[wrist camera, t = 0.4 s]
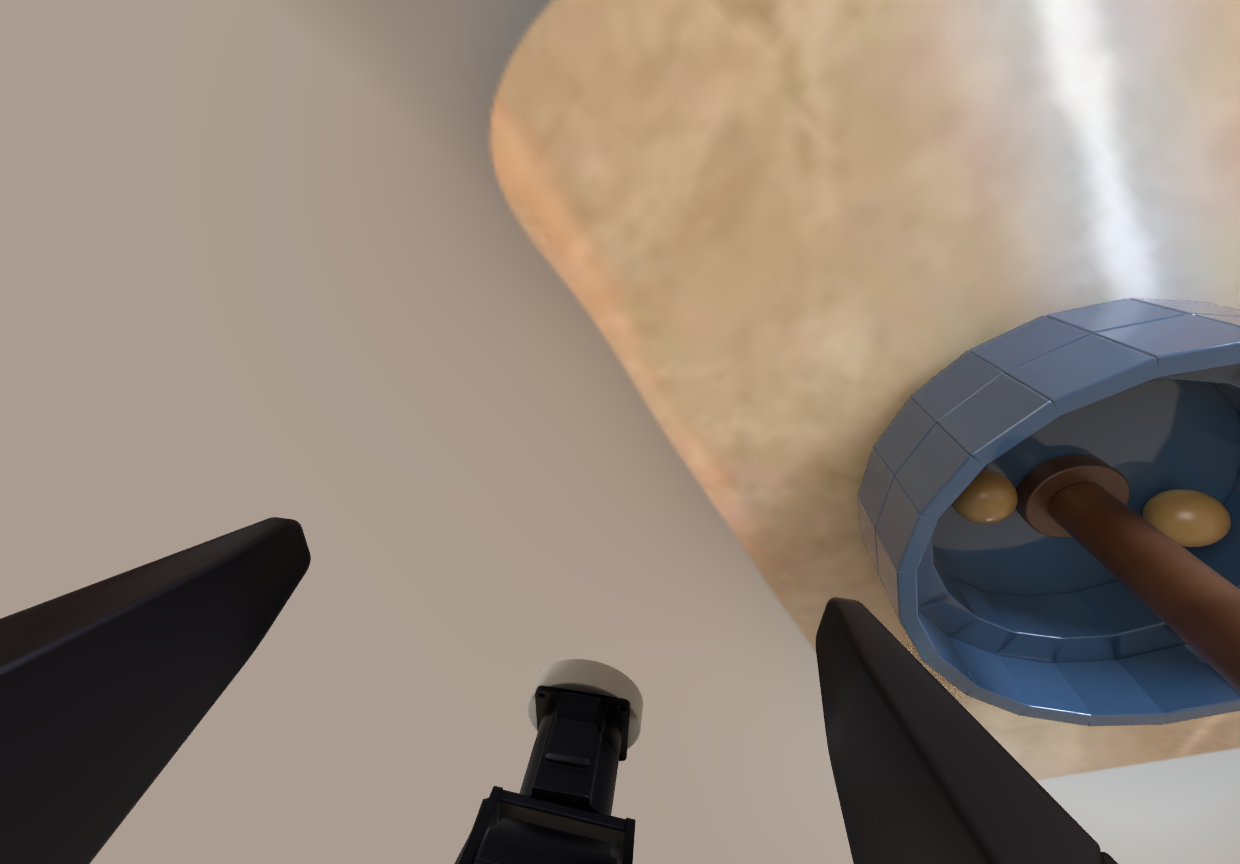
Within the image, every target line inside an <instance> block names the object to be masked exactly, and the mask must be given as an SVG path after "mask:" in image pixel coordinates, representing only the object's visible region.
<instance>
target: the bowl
mask: <svg viewBox="0 0 1240 864" xmlns="http://www.w3.org/2000/svg"><path fill="white" fill-rule="evenodd" d="M1069 455H1084V456H1091V457H1095V458H1098V459H1100V460H1102V461H1104V462H1105V463H1107V464H1108V465H1110V466H1111V467H1113V468H1114V469H1116V470H1117V471H1119V472H1120V473H1121V474H1122V475H1123V476H1124V477H1125V478H1126V480H1127V482H1128V484H1129V487H1130V497H1129V501H1128V504H1127V506H1128V507H1129V508H1131V509H1132V510H1134V511H1135V512H1136V513H1138V514H1139V515H1140V516H1142V517H1143V508H1144V506H1145V504H1146V503H1147V501H1148V500H1149V499H1150V498H1152V497H1153V496H1155V495H1156V494H1158V493H1161V492H1164V491H1167V490H1173V489H1188V490H1195V491H1199V492H1202V493H1205V494H1207V495H1210V496H1212V497H1213V498H1215V499H1216V500H1218V501H1219V502H1220V503H1221V504H1223V505H1224V507H1225V508H1226V509H1227V511H1228V513H1229V515H1230V519H1231V525H1230V529H1229V531H1228V533H1227V534H1226V535H1225V536H1224V537H1223V538H1222V539H1221V540H1219V541H1217V542H1215V543H1213V544H1210V545H1207V546H1202V547H1183V546H1182V547H1183V548H1185V549H1186V550H1187V551H1189V552H1190V553H1191V554H1193V555H1194V556H1196V557H1197V558H1198V559H1200V560H1201V561H1202V562H1204V563H1205V564H1206V565H1208V566H1209V567H1210V568H1212V569H1213V570H1214V571H1216V572H1217V573H1218V574H1220V575H1221V576H1222V577H1224V578H1225V579H1227V580H1228V581H1229V582H1231V583H1232V584H1233V585H1235V586H1236V587H1237V588H1239V589H1240V309H1235V308H1231V307H1226V306H1222V305H1217V304H1213V303H1208V302H1191V301H1175V300H1158V299H1142V298H1130V299H1122V300H1117V301H1112V302H1107V303H1102V304H1097V305H1093V306H1088V307H1083V308H1078V309H1073V310H1068V311H1063V312H1059V313H1054V314H1049V315H1046V316H1041V317H1038V318H1036V319H1034V320H1032V321H1030V322H1028V323H1026V324H1023V325H1021V326H1019V327H1017V328H1015V329H1013V330H1011V331H1008V332H1006V333H1004V334H1002V335H1000V336H998V337H995V338H993V339H991V340H989V341H987V342H985V343H983V344H980V345H978V346H976V347H974V348H972V349H970V350H969V351H966V352H965V353H964V354H962V355H961V356H960V357H959V358H957V359H956V360H955V361H954V362H952V363H951V364H950V365H949V366H947V367H946V368H945V369H944V370H942V371H941V372H940V373H939V374H937V375H936V376H935V377H933V378H932V379H931V380H930V381H928V382H927V383H926V384H925V385H923V386H922V387H921V388H920V389H918V390H917V391H916V392H915V393H913V394H912V395H911V397H910V398H909V399H908V400H907V401H906V403H905V404H904V406H903V407H902V408H901V410H900V411H899V412H898V414H897V415H896V416H895V418H894V419H893V421H892V422H891V423H890V425H889V426H888V427H887V429H886V430H885V431H884V433H883V434H882V435H881V437H880V438H879V440H878V441H877V442H876V444H875V446H874V447H873V449H872V452H871V455H870V458H869V461H868V465H867V468H866V471H865V474H864V477H863V480H862V483H861V487H860V490H859V493H858V503H859V514H860V525H861V536H862V540H863V543H864V545H865V547H866V549H867V552H868V554H869V556H870V558H871V560H872V562H873V564H874V567H875V569H876V571H877V573H878V575H879V577H880V580H881V582H882V584H883V586H884V588H885V590H886V593H887V595H888V597H889V599H890V601H891V603H892V606H893V608H894V610H895V612H896V614H897V616H898V619H899V621H900V622H901V624H902V626H903V628H904V630H905V631H906V633H907V635H908V637H909V638H910V640H911V642H912V644H913V645H914V647H915V649H916V651H917V652H918V654H919V656H920V658H921V659H922V660H923V661H924V663H925V664H927V665H928V666H929V667H931V668H932V669H933V670H934V671H936V672H937V673H938V674H940V675H941V676H942V677H943V678H945V679H946V680H947V681H949V682H950V683H951V684H952V685H954V686H955V687H956V688H958V689H959V690H960V691H961V692H963V693H965V694H966V695H968V696H970V697H973V698H975V699H978V700H981V701H983V702H986V703H988V704H991V705H994V706H996V707H999V708H1001V709H1004V710H1006V711H1009V712H1012V713H1014V714H1017V715H1022V716H1026V717H1033V718H1039V719H1046V720H1052V721H1059V722H1065V723H1072V724H1079V725H1085V726H1086V725H1088V726H1118V725H1160V724H1164V723H1165V724H1169V723H1174V722H1180V721H1185V720H1191V719H1196V718H1202V717H1207V716H1213V715H1218V714H1224V713H1229V712H1235V711H1240V693H1239V692H1238V691H1237V690H1236V689H1235V688H1234V687H1233V686H1232V685H1231V684H1229V683H1228V682H1227V681H1226V680H1225V679H1224V678H1223V677H1222V676H1221V675H1220V674H1219V673H1218V672H1217V671H1216V670H1214V669H1213V668H1212V667H1211V666H1210V665H1209V664H1208V663H1207V662H1206V661H1205V660H1204V659H1203V658H1202V657H1201V656H1199V655H1198V654H1197V653H1196V652H1195V651H1194V650H1193V649H1192V648H1191V647H1190V646H1189V645H1188V644H1187V643H1186V642H1184V641H1183V640H1182V639H1181V638H1180V637H1179V636H1178V635H1177V634H1176V633H1175V632H1174V631H1173V630H1172V629H1171V628H1169V627H1168V626H1167V625H1166V624H1165V623H1164V622H1163V621H1162V620H1161V619H1160V618H1159V617H1158V616H1157V615H1156V614H1154V613H1153V612H1152V611H1151V610H1150V609H1149V608H1148V607H1147V606H1146V605H1145V604H1144V603H1143V602H1142V601H1141V600H1139V599H1138V598H1137V597H1136V596H1135V595H1134V594H1133V593H1132V592H1131V591H1130V590H1129V589H1128V588H1127V587H1126V586H1125V585H1123V584H1122V583H1121V582H1120V581H1119V580H1118V579H1117V578H1116V577H1115V576H1114V575H1113V574H1112V573H1111V572H1110V571H1108V570H1107V569H1106V568H1105V567H1104V566H1103V565H1102V564H1101V563H1100V562H1099V561H1098V560H1097V559H1096V558H1095V557H1093V556H1092V555H1091V554H1090V553H1089V552H1088V551H1087V550H1086V549H1085V548H1084V547H1083V546H1082V545H1081V544H1080V543H1078V542H1077V541H1076V540H1075V539H1074V538H1073V537H1071V538H1058V537H1051V536H1048V535H1045V534H1042V533H1040V532H1038V531H1036V530H1035V529H1034V528H1032V527H1031V526H1030V525H1029V524H1028V523H1027V522H1026V521H1025V520H1024V519H1023V518H1022V517H1021V515H1020V514H1019V513H1018V511H1017V509H1016V508H1015V510H1014V511H1013V513H1012V514H1011V515H1010V516H1009V517H1008V518H1006V519H1004V520H1003V521H1000V522H997V523H993V524H979V523H975V522H971V521H969V520H967V519H965V518H963V517H962V516H960V515H959V514H958V513H957V512H956V511H955V510H954V508H953V507H952V503H953V502H954V501H955V500H956V499H957V498H958V497H959V496H960V494H961V493H962V492H963V491H964V490H965V489H966V488H967V487H968V486H969V484H970V483H971V482H972V481H973V480H974V479H975V478H976V477H977V475H978V474H979V473H980V472H981V471H982V470H983V469H988V470H992V471H995V472H998V473H1000V474H1002V475H1003V476H1005V477H1006V478H1007V479H1009V480H1010V482H1011V483H1012V484H1013V486H1014V487H1015V489H1016V490H1017V487H1018V485H1019V484H1020V482H1021V481H1022V479H1023V478H1024V477H1025V476H1026V475H1027V474H1028V473H1029V472H1031V471H1032V470H1033V469H1035V468H1036V467H1037V466H1039V465H1041V464H1043V463H1045V462H1047V461H1049V460H1052V459H1055V458H1059V457H1063V456H1069Z"/></svg>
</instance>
